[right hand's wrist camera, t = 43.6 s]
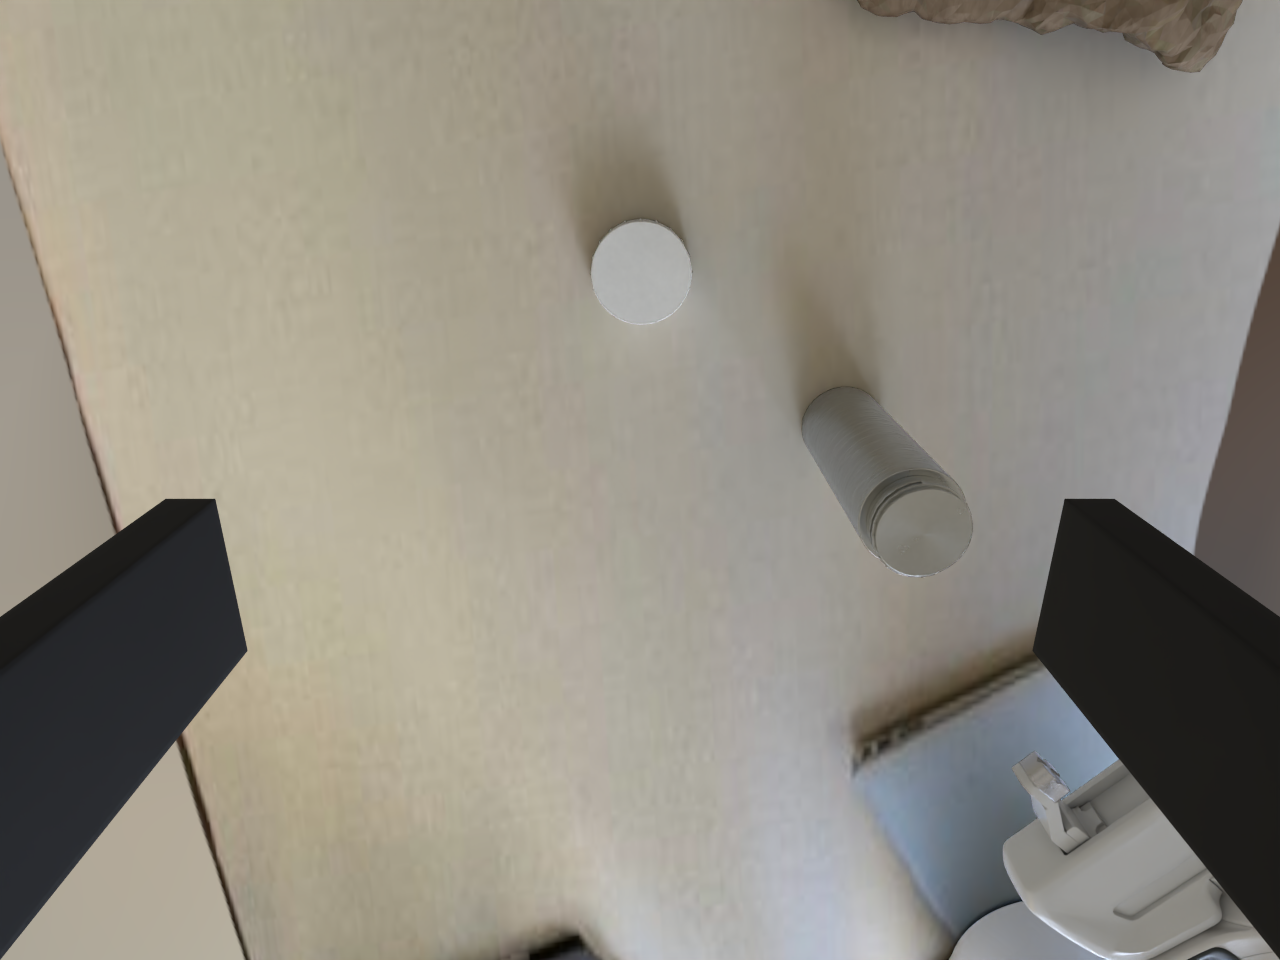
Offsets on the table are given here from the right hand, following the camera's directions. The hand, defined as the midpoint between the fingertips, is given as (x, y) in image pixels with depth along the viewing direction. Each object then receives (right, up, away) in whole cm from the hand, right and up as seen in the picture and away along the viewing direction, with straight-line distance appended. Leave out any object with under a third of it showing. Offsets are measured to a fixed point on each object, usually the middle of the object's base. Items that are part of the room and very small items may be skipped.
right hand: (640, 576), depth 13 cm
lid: (0, +14, +36) cm, 39 cm away
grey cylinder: (+14, +5, +42) cm, 44 cm away
